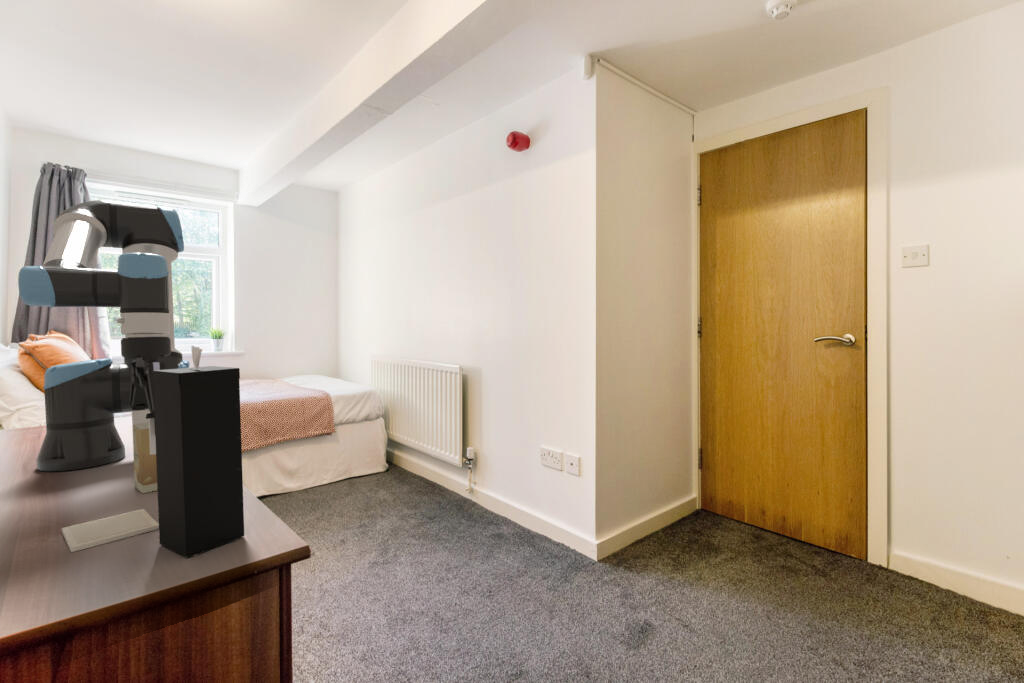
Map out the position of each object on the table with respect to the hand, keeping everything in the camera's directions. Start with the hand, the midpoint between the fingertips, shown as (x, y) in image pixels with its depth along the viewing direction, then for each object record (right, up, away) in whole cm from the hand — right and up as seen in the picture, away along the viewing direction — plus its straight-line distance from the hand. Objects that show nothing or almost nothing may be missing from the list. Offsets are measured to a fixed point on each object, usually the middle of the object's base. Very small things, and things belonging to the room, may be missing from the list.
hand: (150, 447), depth 92 cm
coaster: (+8, -8, -19) cm, 22 cm away
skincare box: (0, -8, +1) cm, 8 cm away
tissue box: (+25, -9, -23) cm, 35 cm away
